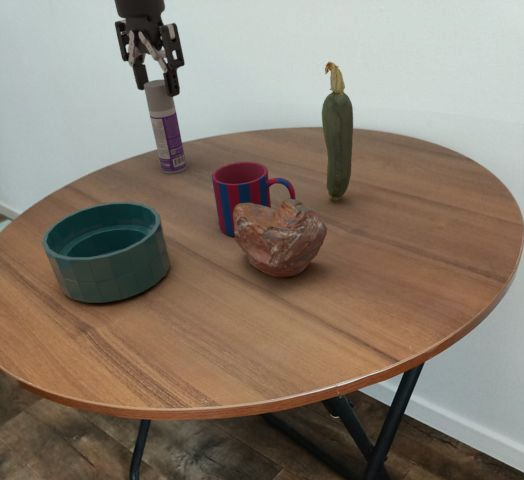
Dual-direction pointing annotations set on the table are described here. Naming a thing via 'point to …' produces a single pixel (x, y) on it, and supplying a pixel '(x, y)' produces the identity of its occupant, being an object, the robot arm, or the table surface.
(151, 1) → the robot arm
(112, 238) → the teal pet bowl
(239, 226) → the stone
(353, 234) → the table surface
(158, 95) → the container
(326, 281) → the table surface
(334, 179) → the vegetable
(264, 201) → the mug
